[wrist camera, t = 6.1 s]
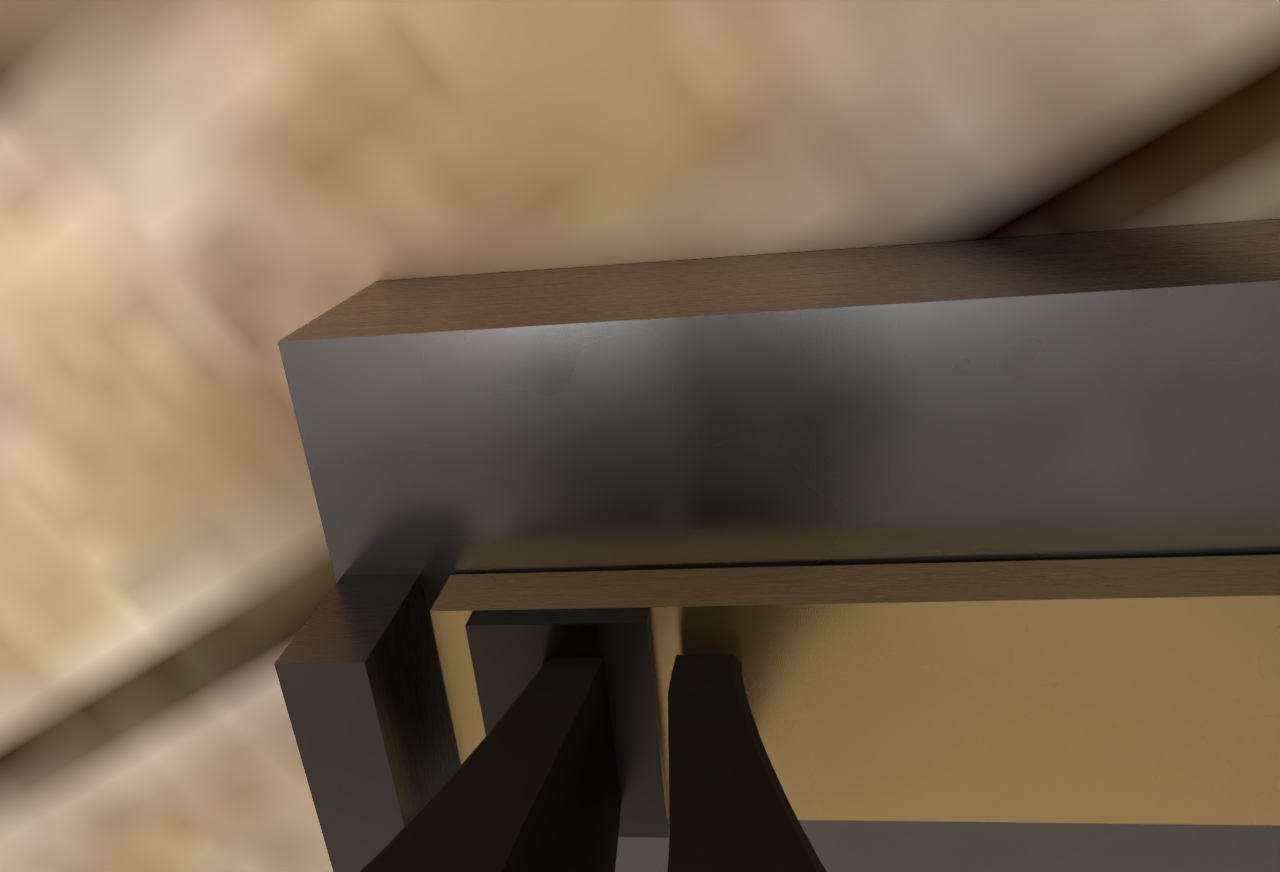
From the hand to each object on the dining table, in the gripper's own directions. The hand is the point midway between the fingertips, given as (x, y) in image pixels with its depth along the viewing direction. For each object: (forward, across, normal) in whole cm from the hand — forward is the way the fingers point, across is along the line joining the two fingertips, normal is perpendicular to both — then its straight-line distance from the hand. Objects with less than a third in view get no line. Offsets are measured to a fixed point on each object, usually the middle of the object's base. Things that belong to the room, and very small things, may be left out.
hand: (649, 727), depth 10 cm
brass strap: (+1, -4, 0) cm, 4 cm away
